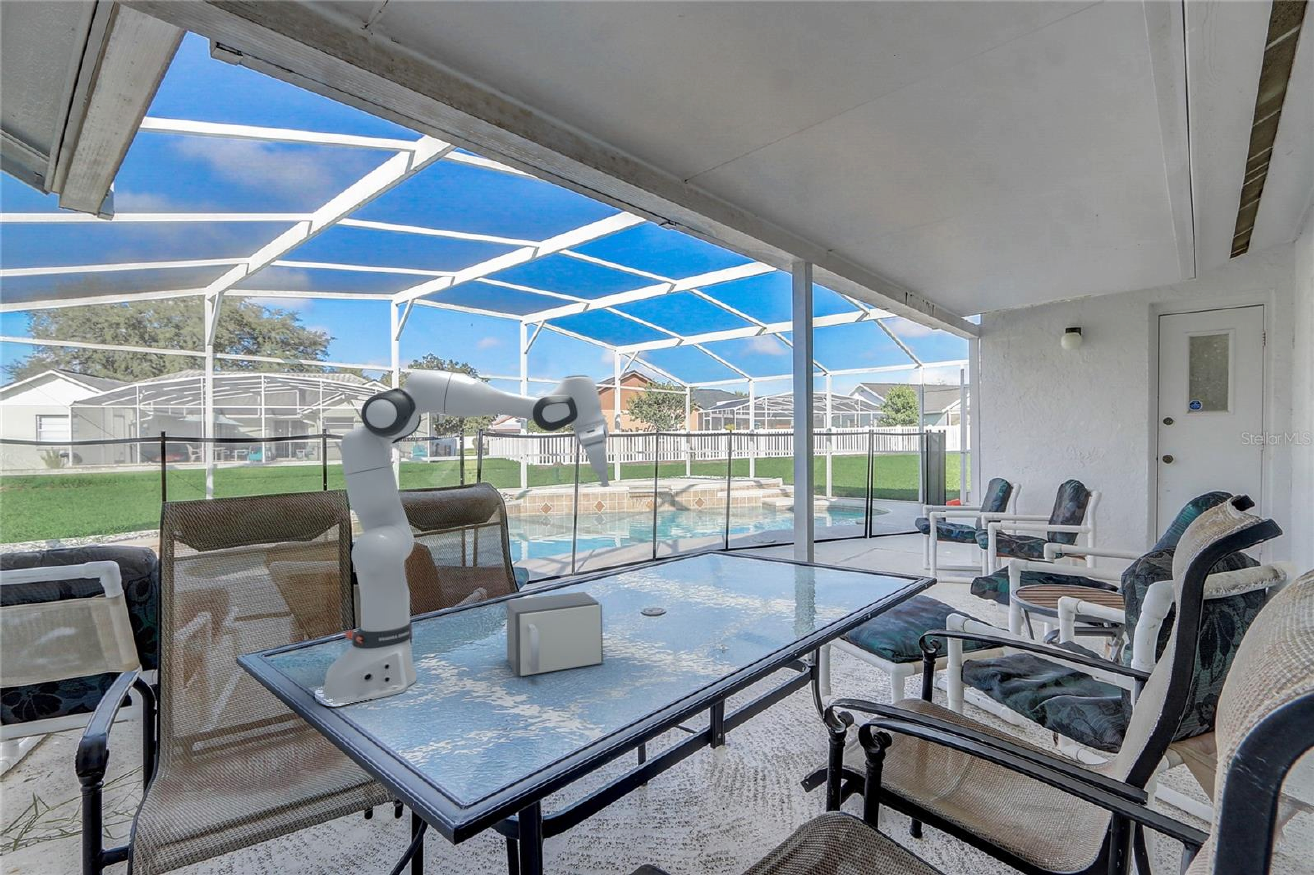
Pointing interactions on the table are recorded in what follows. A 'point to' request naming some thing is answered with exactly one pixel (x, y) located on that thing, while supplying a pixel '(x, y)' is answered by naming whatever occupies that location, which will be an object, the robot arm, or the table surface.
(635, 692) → the table surface
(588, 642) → the door
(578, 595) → the box
